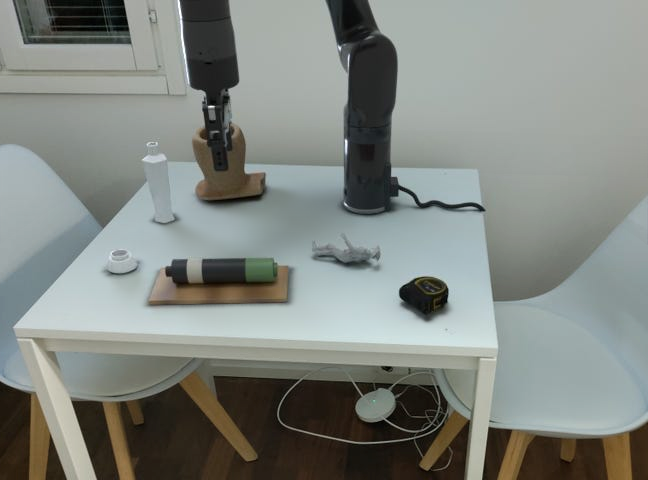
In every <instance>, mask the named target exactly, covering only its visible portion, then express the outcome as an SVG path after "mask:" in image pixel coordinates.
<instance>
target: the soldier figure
mask: <svg viewBox="0 0 648 480" xmlns="http://www.w3.org/2000/svg"><path fill="white" fill-rule="evenodd" d="M339 236H340V237H341V238H342V240H343V241H344V244H345V246H346V247H347V248H346V249H343V250H342V249H340V248H339V247H338V246H336V245H335V244H333V243H326V244H323V245H320V244H319V245H316V240H312V241H311V246H312V248H311V252H312V253H315V252H317V256H318V257H319V256H320V257H321V256H329V255H333V256H334V257H335V258H336V259H338V260H339V262H342V263H344V264H347V263H351V262H353V261H355V260H357V261H359V260H360V261H368V260H369V259H370V258H371V259H373V260H376V262H379V260H380V259H381V255H382V253H381V248H380V245H379V244H377V245H376V246H375V247H374V248H373V247H371V249H368V248H367V247H364V246H358V247H357V246H354V245H353V244H352V243H351V241H349V239H348V238H347V236H346V234H344V233H343V232H341V233H340V235H339ZM371 250H372V251H371Z"/></svg>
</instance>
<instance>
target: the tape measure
mask: <svg viewBox="0 0 648 480" xmlns="http://www.w3.org/2000/svg"><path fill="white" fill-rule="evenodd" d="M449 293H450V290H449V287H448V285H447V283H446V282H445V281H444V280H443V279H440V278H437V277H435V276H429V275H427V276H426V275H424V276H419V277H415V278H413V279H412V280H410V281H409V282H407V283H405V284H403V285H401V286H400V287H399V289H398V296H399V299H401V300H402V301H403V302H404V303H406V304H408V305H409V306H411V307H413V308H414V309H416V310H417V311H418V312H420V313H421V314H422V315H424V316H429V315H431V314H433V312H437V311H441V310H442V309H443V308H444V307H445V306H446V305H447V304H448V303H449V301H448V300H449V295H450V294H449Z"/></svg>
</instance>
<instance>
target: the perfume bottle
mask: <svg viewBox="0 0 648 480" xmlns="http://www.w3.org/2000/svg"><path fill="white" fill-rule="evenodd" d="M146 147H147V153H148V155H147V156H145V157H144V158H143V159H141V162H142V166H143V170H144V174H145V177H146V181H147V186H148V188H149V193H150V196H151V200H152V204H153V205H152V206H153V209H154V213H155V216H154V221H155V222H157V223H162V224H167V223H170V222H173V221H176V218H175V216H174V213H173V210H172V199H171V188H170V186H171V185H170V178H169V176H170V175H169V167H168V166H169V165H168V158H167V156H166V155H165V154H163V153H159V152H160V150H159V143H158V141H152V142H147V143H146Z"/></svg>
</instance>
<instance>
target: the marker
mask: <svg viewBox="0 0 648 480" xmlns="http://www.w3.org/2000/svg"><path fill="white" fill-rule="evenodd" d="M278 266H279V265H278V262H275V258H274V257H232V258H231V257H229V258H228V257H224V258H222V257H221V258H172V260H171V264H170V265H165V267H164V268H165V274H166V277H172V281H173V283H175V284H177V283H243V282H274V280H275V277H278Z"/></svg>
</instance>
